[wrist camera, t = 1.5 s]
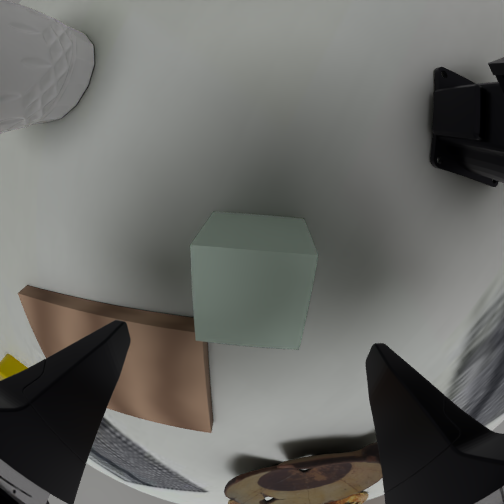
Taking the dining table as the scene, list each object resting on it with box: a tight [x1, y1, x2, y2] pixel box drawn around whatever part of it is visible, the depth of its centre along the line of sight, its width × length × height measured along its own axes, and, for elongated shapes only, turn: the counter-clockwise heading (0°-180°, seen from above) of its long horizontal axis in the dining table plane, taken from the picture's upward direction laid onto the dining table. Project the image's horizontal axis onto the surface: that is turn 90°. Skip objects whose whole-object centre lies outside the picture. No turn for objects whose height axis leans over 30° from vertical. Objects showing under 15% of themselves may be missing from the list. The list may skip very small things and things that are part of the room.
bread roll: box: [325, 492, 368, 504], centre depth 38 cm, size 11×11×5 cm
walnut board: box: [18, 285, 213, 433], centre depth 20 cm, size 18×14×2 cm
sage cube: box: [190, 211, 318, 350], centre depth 14 cm, size 5×5×5 cm
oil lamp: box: [224, 442, 383, 504], centre depth 25 cm, size 22×30×8 cm
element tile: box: [0, 354, 27, 381], centre depth 26 cm, size 15×15×5 cm
